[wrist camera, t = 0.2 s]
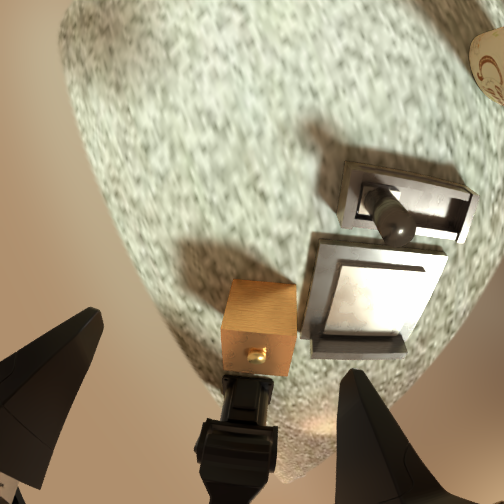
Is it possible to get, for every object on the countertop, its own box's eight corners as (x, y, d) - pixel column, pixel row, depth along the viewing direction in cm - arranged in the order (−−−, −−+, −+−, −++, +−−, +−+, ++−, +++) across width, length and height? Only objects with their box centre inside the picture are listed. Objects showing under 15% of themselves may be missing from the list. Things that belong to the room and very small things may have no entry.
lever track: (452, 230, 20) (463, 243, 18) (336, 214, 21) (341, 228, 19) (466, 185, 18) (479, 196, 16) (344, 160, 18) (351, 169, 16)
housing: (288, 326, 28) (287, 380, 22) (233, 321, 28) (222, 373, 23) (296, 283, 25) (296, 340, 19) (233, 278, 25) (219, 332, 20)
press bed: (404, 336, 27) (411, 358, 24) (299, 333, 28) (300, 357, 25) (444, 251, 21) (459, 273, 18) (319, 238, 22) (323, 261, 19)
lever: (389, 213, 19) (414, 249, 15) (355, 209, 19) (373, 245, 15) (396, 185, 18) (424, 216, 14) (360, 179, 18) (382, 209, 14)
